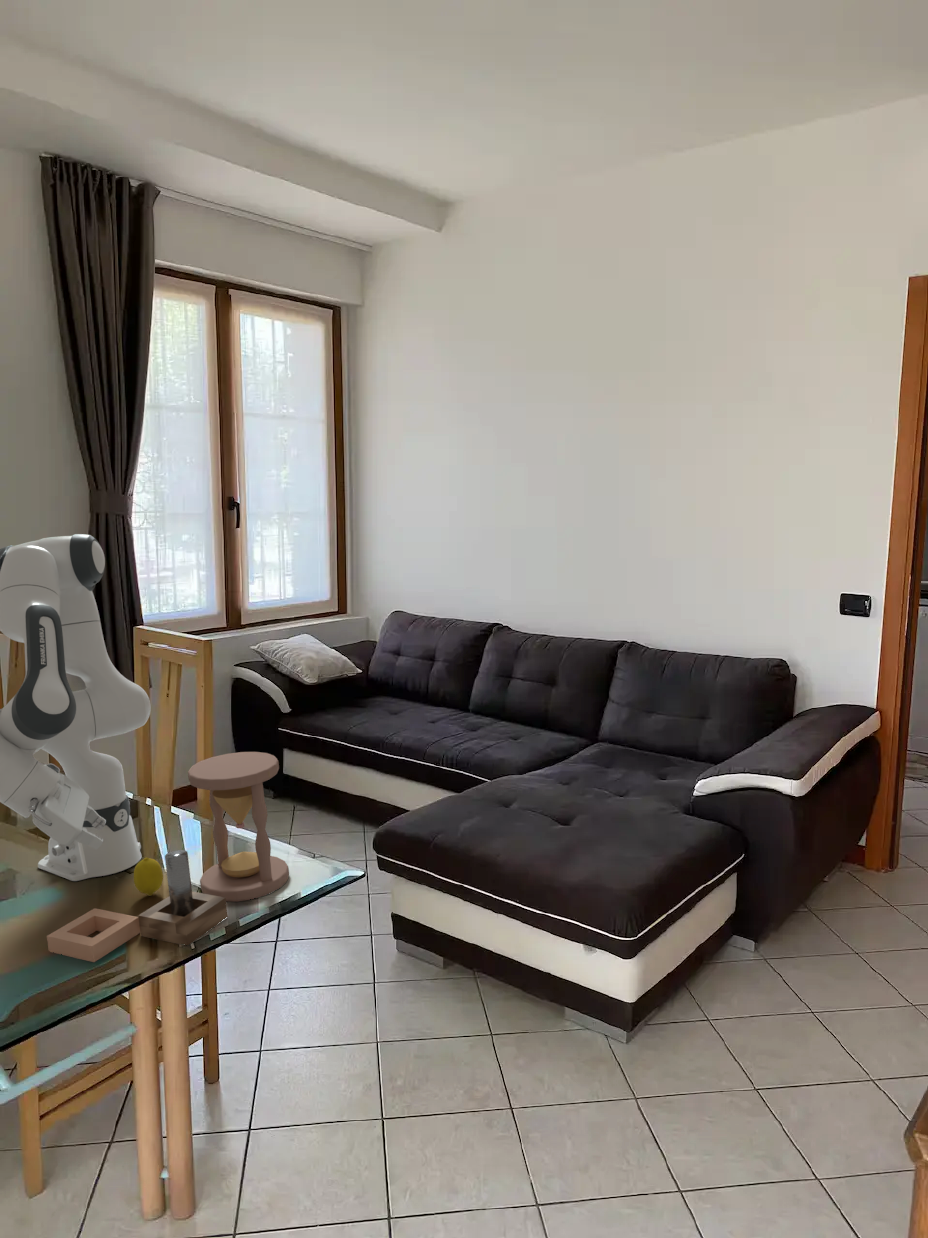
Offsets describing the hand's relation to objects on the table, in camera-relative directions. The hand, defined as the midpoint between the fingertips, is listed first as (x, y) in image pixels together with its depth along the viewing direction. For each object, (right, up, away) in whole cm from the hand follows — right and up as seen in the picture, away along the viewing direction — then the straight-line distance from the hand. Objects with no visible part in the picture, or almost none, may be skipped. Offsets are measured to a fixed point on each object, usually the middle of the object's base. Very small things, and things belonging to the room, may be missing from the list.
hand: (102, 835), depth 165 cm
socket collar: (-2, -20, +3) cm, 20 cm away
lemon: (+2, -17, +21) cm, 27 cm away
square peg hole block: (+13, -19, +7) cm, 24 cm away
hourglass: (+20, -15, +24) cm, 35 cm away
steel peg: (+12, -17, +7) cm, 22 cm away
